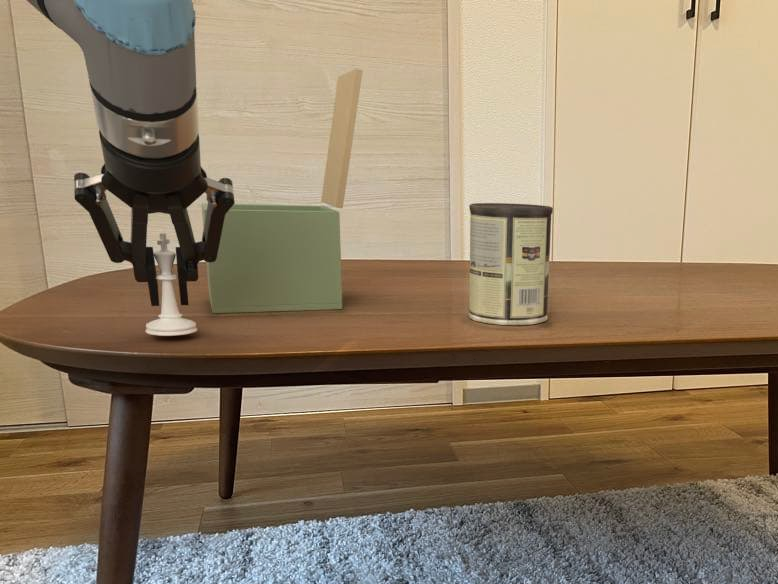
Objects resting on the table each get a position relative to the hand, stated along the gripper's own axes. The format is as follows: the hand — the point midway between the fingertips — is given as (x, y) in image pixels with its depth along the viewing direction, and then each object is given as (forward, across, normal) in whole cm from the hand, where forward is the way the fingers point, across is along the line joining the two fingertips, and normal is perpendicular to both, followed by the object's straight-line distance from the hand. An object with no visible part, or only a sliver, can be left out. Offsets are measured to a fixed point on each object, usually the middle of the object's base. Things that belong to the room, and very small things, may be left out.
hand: (169, 295), depth 84 cm
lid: (-1, +21, +23) cm, 31 cm away
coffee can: (+2, +39, -3) cm, 39 cm away
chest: (+13, +12, +8) cm, 20 cm away
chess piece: (0, 0, -5) cm, 5 cm away
